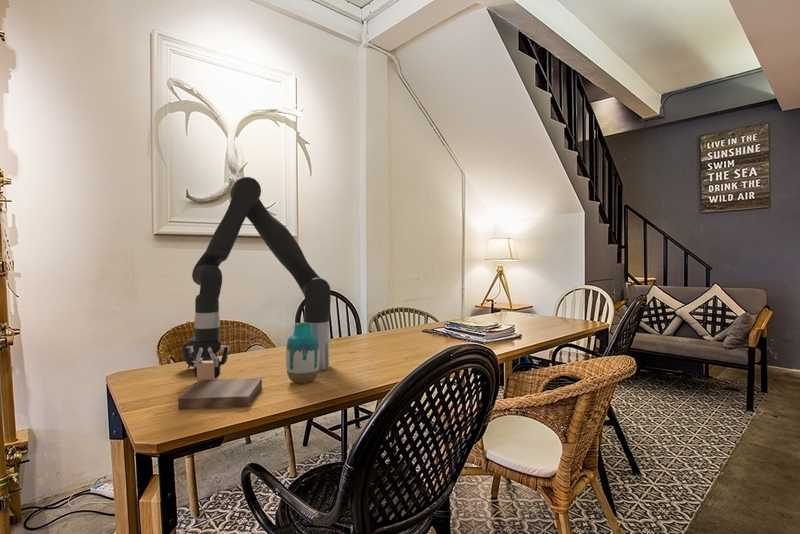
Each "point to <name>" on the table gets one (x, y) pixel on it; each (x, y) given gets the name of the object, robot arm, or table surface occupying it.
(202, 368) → the pink block
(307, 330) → the vase
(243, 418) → the table surface
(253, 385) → the walnut base
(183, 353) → the alarm clock
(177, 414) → the table surface
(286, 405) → the table surface
